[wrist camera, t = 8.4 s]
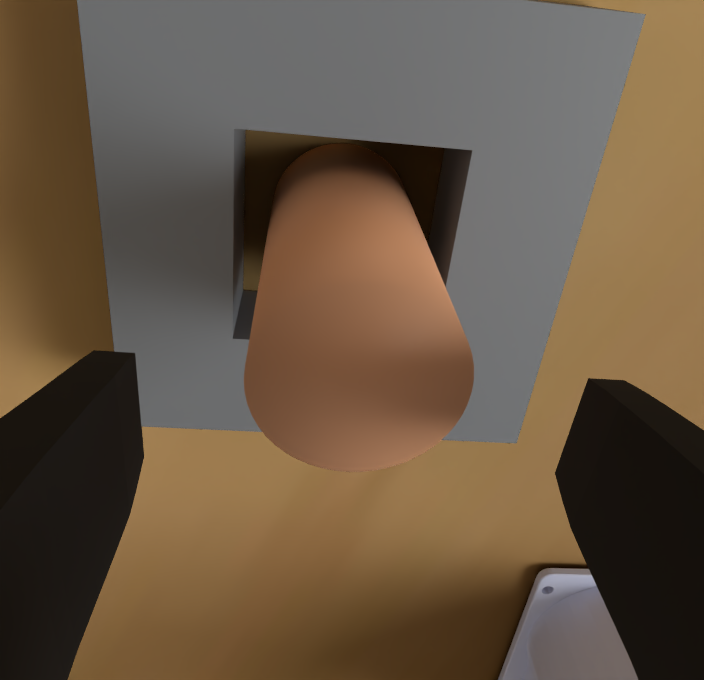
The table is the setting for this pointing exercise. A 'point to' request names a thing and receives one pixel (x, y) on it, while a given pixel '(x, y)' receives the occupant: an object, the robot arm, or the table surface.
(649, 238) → the table surface
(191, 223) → the socket board
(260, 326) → the peg
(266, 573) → the table surface
